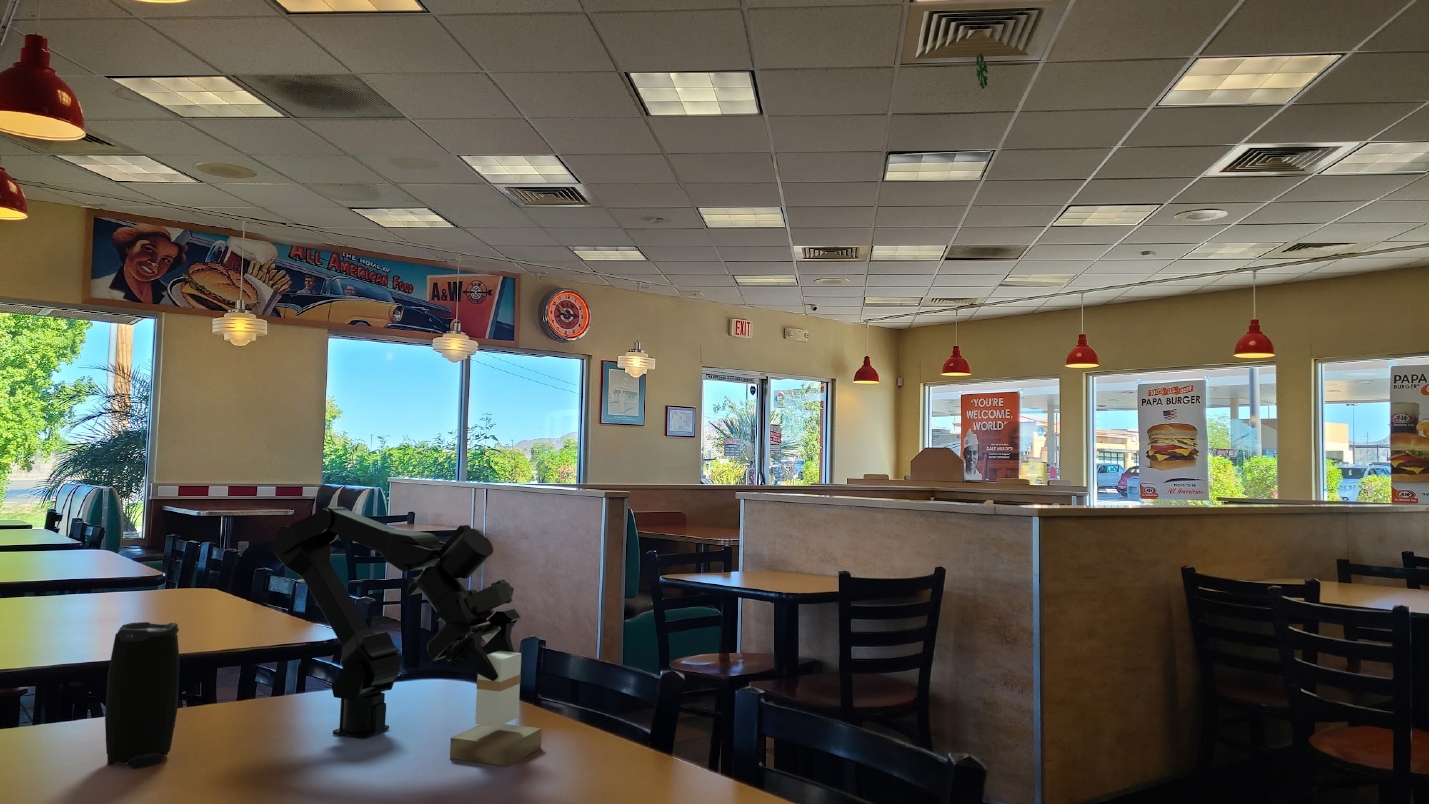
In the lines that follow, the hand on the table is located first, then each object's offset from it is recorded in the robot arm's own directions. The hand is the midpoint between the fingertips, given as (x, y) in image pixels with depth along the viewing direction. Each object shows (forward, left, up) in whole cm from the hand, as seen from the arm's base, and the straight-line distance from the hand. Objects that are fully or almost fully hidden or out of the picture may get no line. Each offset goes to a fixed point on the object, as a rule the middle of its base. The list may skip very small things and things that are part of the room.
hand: (506, 675), depth 146 cm
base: (-1, 0, -12) cm, 12 cm away
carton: (-1, 0, -7) cm, 7 cm away
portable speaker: (-46, -24, -12) cm, 54 cm away
